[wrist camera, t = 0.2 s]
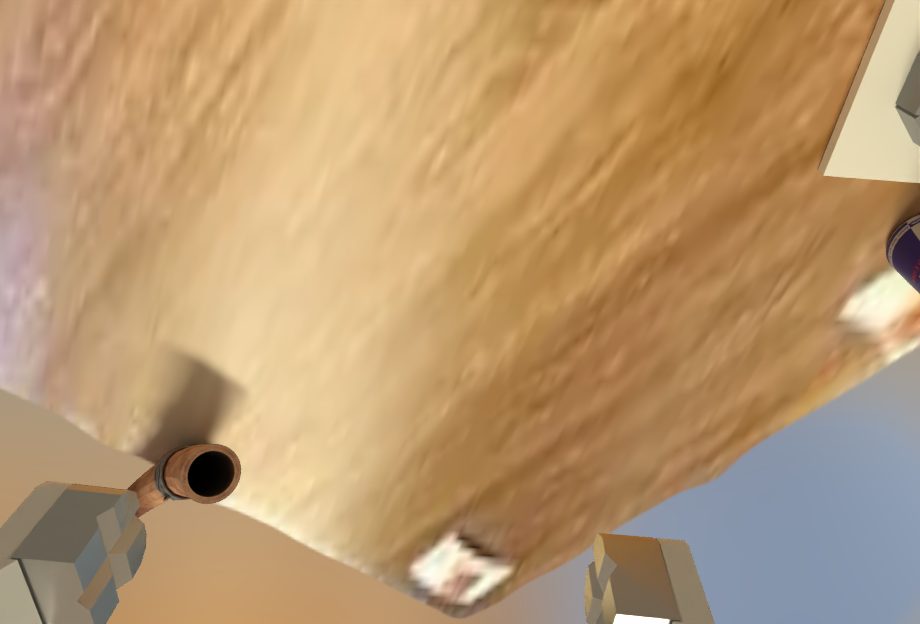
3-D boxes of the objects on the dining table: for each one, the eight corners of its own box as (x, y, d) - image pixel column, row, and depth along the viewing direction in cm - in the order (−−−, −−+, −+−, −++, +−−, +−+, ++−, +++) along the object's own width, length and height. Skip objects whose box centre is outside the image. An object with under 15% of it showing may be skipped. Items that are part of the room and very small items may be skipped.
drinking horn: (266, 431, 66) (233, 510, 57) (109, 536, 77) (63, 615, 69) (224, 399, 63) (183, 478, 55) (69, 512, 75) (16, 591, 67)
